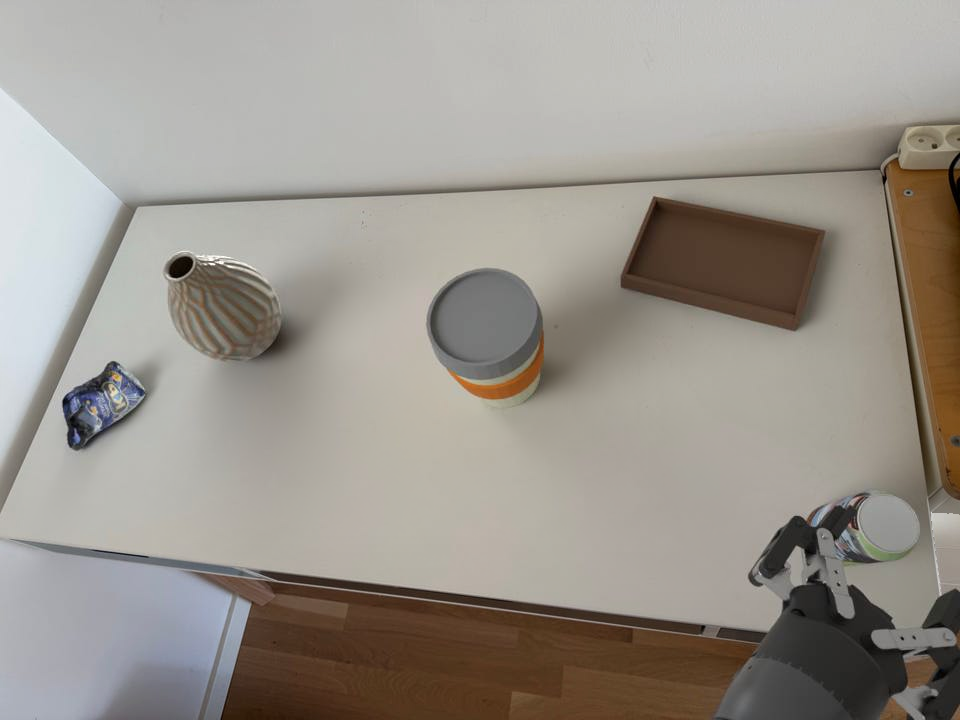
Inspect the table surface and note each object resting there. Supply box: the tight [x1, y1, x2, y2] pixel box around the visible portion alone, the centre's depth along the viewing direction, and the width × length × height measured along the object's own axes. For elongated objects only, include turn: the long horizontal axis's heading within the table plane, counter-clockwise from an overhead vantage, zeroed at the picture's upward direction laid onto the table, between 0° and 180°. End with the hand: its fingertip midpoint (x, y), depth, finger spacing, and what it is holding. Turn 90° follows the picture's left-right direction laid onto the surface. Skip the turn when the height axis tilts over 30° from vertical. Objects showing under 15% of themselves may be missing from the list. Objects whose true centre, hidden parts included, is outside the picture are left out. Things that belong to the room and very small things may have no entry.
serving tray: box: [620, 195, 826, 332], centre depth 81 cm, size 21×13×3 cm, turn 65°
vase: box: [162, 250, 283, 363], centre depth 85 cm, size 13×13×18 cm
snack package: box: [61, 360, 147, 452], centre depth 90 cm, size 12×6×12 cm
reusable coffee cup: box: [425, 267, 545, 409], centre depth 75 cm, size 13×13×15 cm
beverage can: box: [806, 489, 921, 567], centre depth 60 cm, size 6×7×12 cm
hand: (898, 552), depth 49 cm, fingers open, 8 cm apart
